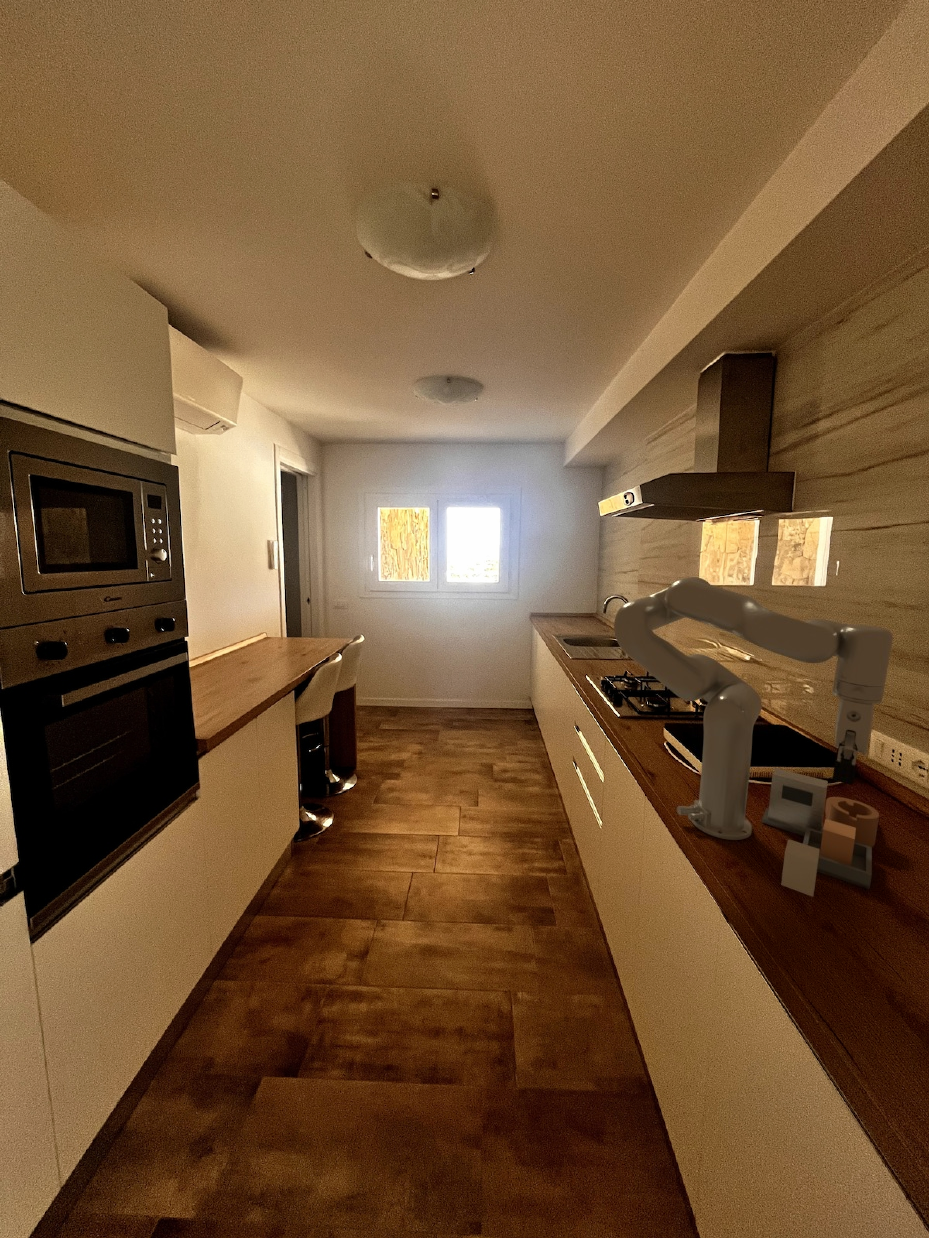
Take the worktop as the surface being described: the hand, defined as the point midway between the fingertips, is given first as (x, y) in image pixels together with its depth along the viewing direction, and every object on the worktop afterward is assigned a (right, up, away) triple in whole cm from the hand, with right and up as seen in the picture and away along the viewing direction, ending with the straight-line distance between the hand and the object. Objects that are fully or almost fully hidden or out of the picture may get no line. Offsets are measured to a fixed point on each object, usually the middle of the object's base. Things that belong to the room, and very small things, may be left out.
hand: (843, 772), depth 97 cm
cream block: (-11, -20, -3) cm, 23 cm away
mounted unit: (+1, -17, +15) cm, 23 cm away
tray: (0, -19, +3) cm, 19 cm away
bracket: (+13, -18, +16) cm, 27 cm away
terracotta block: (0, -19, +3) cm, 19 cm away
